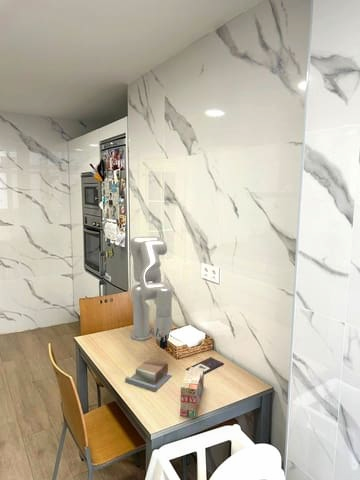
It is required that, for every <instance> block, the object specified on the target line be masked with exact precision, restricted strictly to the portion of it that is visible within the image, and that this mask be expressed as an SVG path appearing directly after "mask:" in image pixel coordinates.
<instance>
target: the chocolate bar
mask: <svg viewBox="0 0 360 480" xmlns="http://www.w3.org/2000/svg"><path fill="white" fill-rule="evenodd" d="M223 365H225V363H224V362H222V361H220V360H218V359H216V358H214V357H211V356H210V357H208V358H206V359H204V360H201V361H200V362H197V363H196V364H193V365H191V366H189V367H187V368H186V369H185V370H186V371H189V369H190V367H195V368H204V376H205V375H206V374H208V373H210V372H213V371H214V370H216V369H218V368H220V367H222V366H223Z"/></svg>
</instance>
